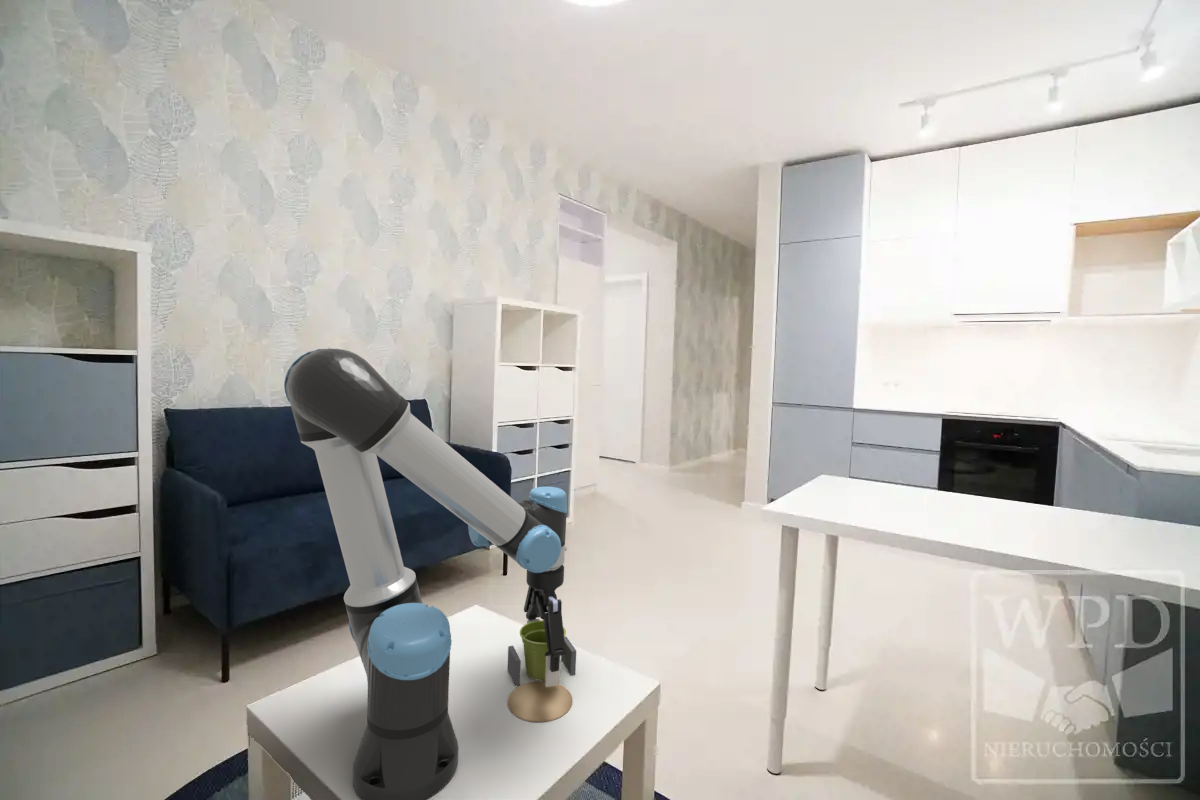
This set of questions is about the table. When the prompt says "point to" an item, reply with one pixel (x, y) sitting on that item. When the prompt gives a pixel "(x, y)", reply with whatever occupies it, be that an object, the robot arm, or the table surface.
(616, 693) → the table surface
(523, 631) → the plant pot
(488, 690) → the table surface
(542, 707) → the coaster
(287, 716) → the table surface
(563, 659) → the twin grey plates
